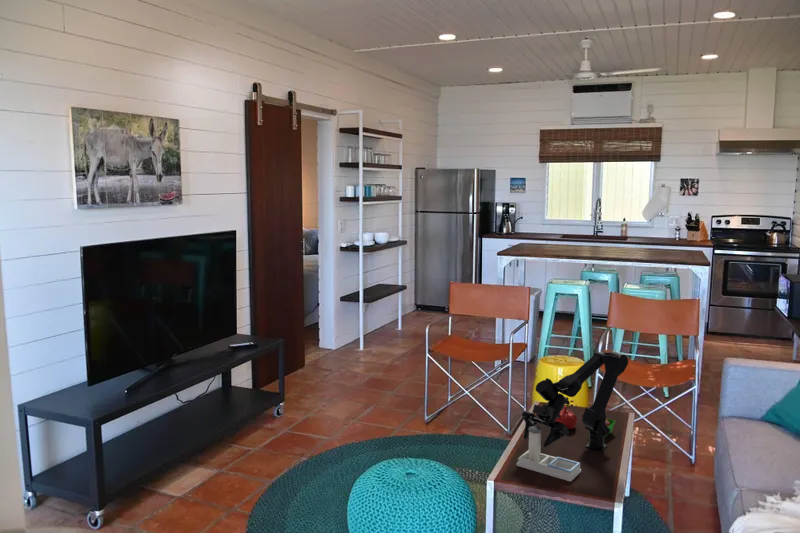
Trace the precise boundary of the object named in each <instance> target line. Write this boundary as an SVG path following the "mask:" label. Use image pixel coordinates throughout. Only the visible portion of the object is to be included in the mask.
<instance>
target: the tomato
mask: <svg viewBox="0 0 800 533" xmlns="http://www.w3.org/2000/svg"><path fill="white" fill-rule="evenodd" d="M559 414H560V418H558V417H557V419H556V421H557V422H560V423H563V424H564V425H565V426H566V427H567V428H568V430H572V429H575V428H576V427H577V424H578V418H577V415H576V414H575V411H573V409H571V408H569V409H567V406H566V405H564V406H563V408H562V410H561V412H560V413H559ZM556 421H555V422H556Z"/></svg>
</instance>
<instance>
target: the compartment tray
mask: <svg viewBox="0 0 800 533" xmlns="http://www.w3.org/2000/svg"><path fill="white" fill-rule="evenodd" d="M528 452H529V449H528V450H526V451H525V452H524V453H522V454H521V455H520V456H519V457H518V458H517V462H516V466H517V467H520V468H524V469H527V470H530V471H534V472H537V473H540V474H544V475H547V476H551V477H553V478H557V479H561V480H564V481H567V482H572V481H573V480H575V478H576V477H577V476H578V475H579V474H581V473H582V468H581V462H579V461H576V460H571V459H568V458H564V457H560V456H552V455H549V454H545V453H541V454H540V462H539V463H538V462H535V461H531V460H528Z"/></svg>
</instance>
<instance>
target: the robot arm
mask: <svg viewBox="0 0 800 533" xmlns="http://www.w3.org/2000/svg"><path fill="white" fill-rule="evenodd" d="M603 365H604V370H605V372H604V374H603V377H602V380H601V383H600V385H599V388H598V390H597V393H596V396H595V399H594V401H593V404H592V405H591V406H590V407H585V409H584V413H583V414H582V416H581V417H582V421H581V422H582V423H583V426H584V429H585V430H588V431H589V433H588V434H589V435H588V436H589V437H588V443H587V444H586V445H585V447H586V448H589V449H592V450H596V451H600V452H601V451H603V450H604V449H605V448H607V446H608V444H606V443H605V437H604V436H606V435H607V436H608V435H609V434H610V433H609V432H610V429H609V428H608V427H607V426H606V425H605V421H606V418H607V415H606V409H607V406H608V403H609V400H610V398H611V396H612V393H613V390H614V388H615V385H616V382H617V380H618V377H619V376H621V374H623V373H624V372H625V370H626V369H627V366H628V365H629V359H628V356H627V355H625V354H622V353H620V352H617V351H614V350H611V351H609V352H605V351H596V352H594V353H593V355H592V356H591V357H590V358H589V359H587V361H585V363H583V364H582V365H581V366H580V367H579V368H578V369H577V370H575V372H574V373H572V374H568V375H565V376H563V377H562V378H561V379H559V381H557V382H553V380H552V379H550V378H548V377H546V378H545V379H543V380H541V381H540V382H538V383H537V384H536V385H535V392H537V393H538V395H540V397H541V398H542V399H543V400H545V401H546V402H547V403H546V404H543V405H542V406H540V405H538V404H534V405H533V407H532V411H529V410H524V411H522V414H521V415H520V416H521V418H522V419H523V421H524V423H525V425H524V433H523V439H524V440H527V439H529V427H531V426H537V424H538V425H541V426H544V427H547V428H549V429H550V432H549V433H548V436H547V438H546V439H545V442H544V444H543V447H544V448H547V447H548V446H550V445H552V444H553V443H554V442H556V441H558V440H560V439H563V438H564V437H565V438H567V437H568V436H569V434H570V429H568V428H567V427H566V426H565V425H564V424H563V423H560V422H557V421H556V419H557V417H558V418H560V414H559V413H560V412H561V410H563V409H562V408H564V406H566V405H567V406H570V404H571V403H570V400H569V398H574V397H575V396H577V394H578V393H579V392H580V390H582V386H583V384H584V383H585V382H586V381H587V380H588V379H589V378H590V377H591V376H593V374H594V373H595V372H596V371H598V370H599V369H600V368H601V367H602V366H603ZM564 395H565V396H564ZM555 421H556V422H555ZM607 436H606V437H607Z"/></svg>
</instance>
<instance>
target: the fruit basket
mask: <svg viewBox="0 0 800 533" xmlns="http://www.w3.org/2000/svg"><path fill="white" fill-rule="evenodd" d="M615 424H616V420H614V419H610V418H607V417H606V421H605V425H606V426H607V427H608V428H609V429H610V432H609V434H611V433H612V432H613V430H614V429H613V428H614V426H615ZM607 436H608V435H606V436H604V438H606V437H607Z"/></svg>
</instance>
